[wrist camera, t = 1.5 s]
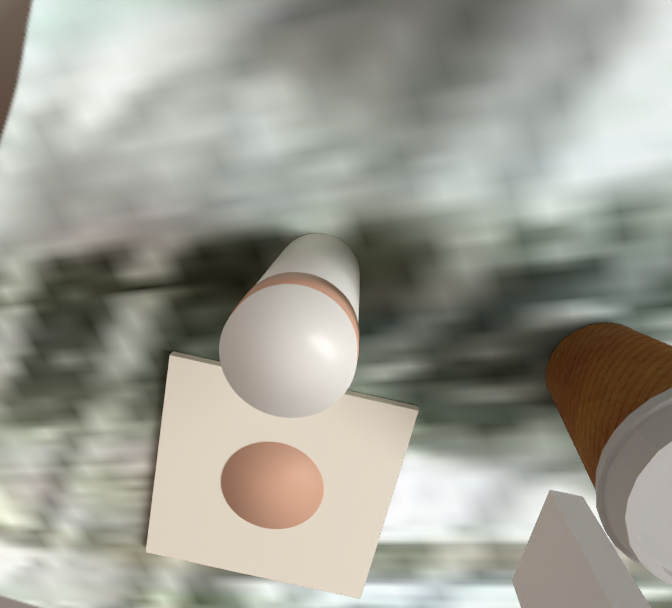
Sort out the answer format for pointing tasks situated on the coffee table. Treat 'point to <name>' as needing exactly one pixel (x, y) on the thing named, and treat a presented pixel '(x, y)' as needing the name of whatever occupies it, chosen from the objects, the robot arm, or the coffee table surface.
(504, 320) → the coffee table surface
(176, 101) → the coffee table surface
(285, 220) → the coffee table surface
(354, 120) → the coffee table surface
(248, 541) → the card
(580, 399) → the disposable coffee cup
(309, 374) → the plastic tube
